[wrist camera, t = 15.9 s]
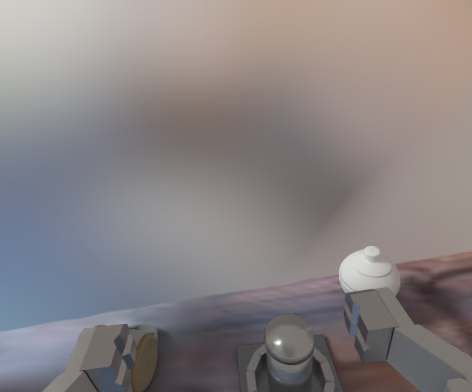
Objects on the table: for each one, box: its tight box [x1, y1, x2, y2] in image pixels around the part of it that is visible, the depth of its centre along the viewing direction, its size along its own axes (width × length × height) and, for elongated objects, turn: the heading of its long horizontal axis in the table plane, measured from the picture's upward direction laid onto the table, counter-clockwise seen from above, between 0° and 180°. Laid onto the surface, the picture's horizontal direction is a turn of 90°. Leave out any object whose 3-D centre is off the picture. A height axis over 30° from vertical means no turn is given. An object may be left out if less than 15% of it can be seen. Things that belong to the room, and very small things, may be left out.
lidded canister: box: [264, 314, 315, 392], centre depth 34 cm, size 5×5×10 cm
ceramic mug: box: [95, 324, 158, 392], centre depth 40 cm, size 11×8×8 cm
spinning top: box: [339, 246, 401, 296], centre depth 42 cm, size 8×8×12 cm
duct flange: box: [237, 334, 343, 392], centre depth 36 cm, size 12×12×3 cm
